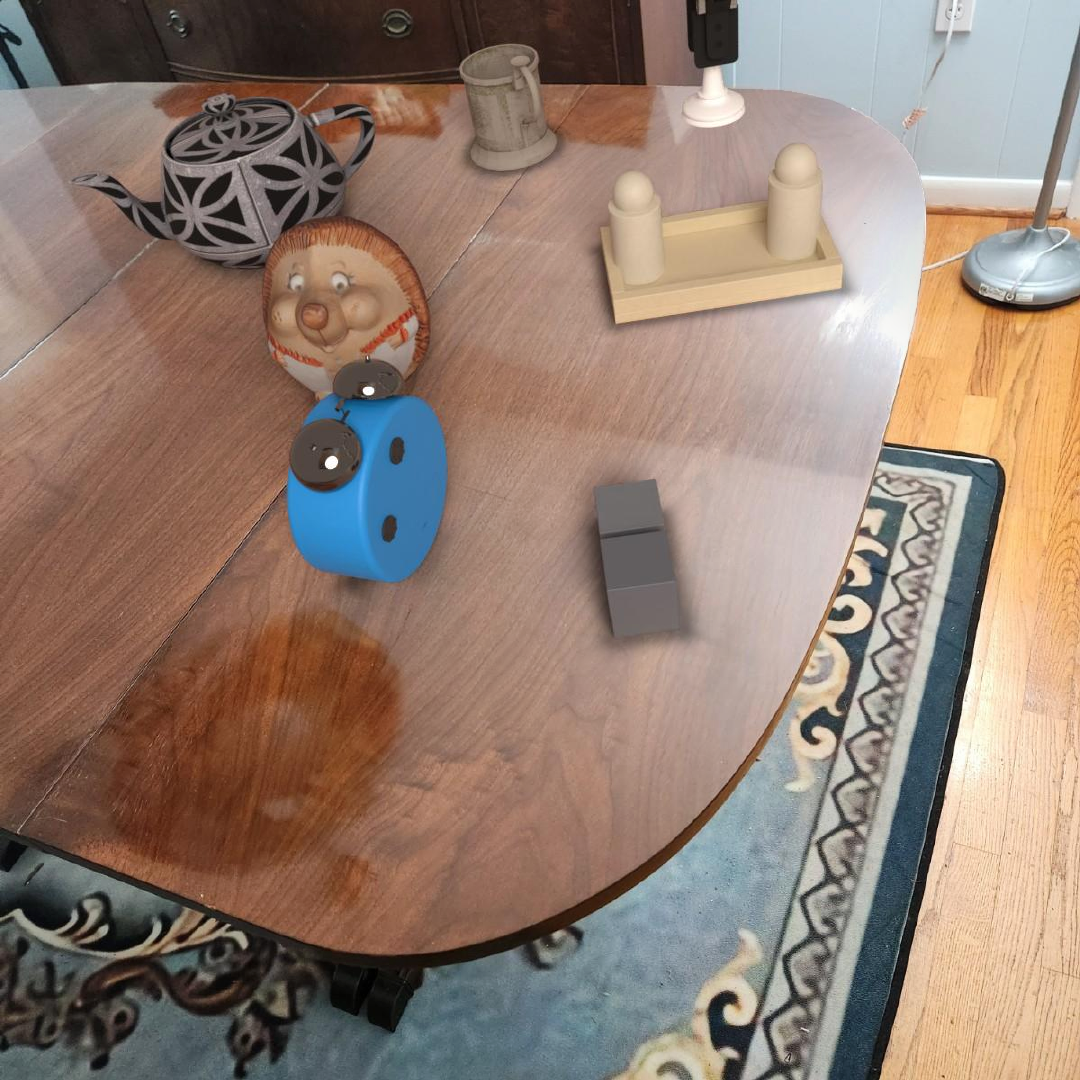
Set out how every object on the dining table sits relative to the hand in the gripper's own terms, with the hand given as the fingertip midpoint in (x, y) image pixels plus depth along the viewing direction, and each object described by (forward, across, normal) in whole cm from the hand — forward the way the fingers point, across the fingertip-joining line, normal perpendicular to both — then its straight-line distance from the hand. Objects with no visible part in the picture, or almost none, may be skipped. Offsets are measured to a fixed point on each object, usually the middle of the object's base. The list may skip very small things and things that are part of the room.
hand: (712, 53), depth 76 cm
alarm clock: (+21, -26, +29) cm, 44 cm away
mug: (+21, +30, +17) cm, 40 cm away
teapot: (+21, +22, +46) cm, 55 cm away
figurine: (+21, -5, +33) cm, 39 cm away
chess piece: (+5, 0, 0) cm, 5 cm away
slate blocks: (+21, -32, +11) cm, 40 cm away
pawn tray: (+21, +3, 0) cm, 21 cm away
